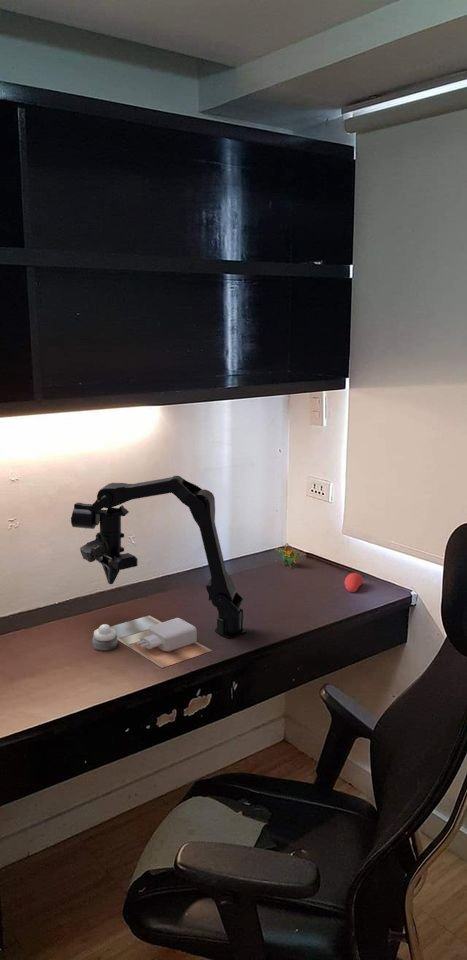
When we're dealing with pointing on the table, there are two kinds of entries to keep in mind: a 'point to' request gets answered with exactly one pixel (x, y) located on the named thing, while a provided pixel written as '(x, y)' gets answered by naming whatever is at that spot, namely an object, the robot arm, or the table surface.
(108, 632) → the dome
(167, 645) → the charger
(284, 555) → the figurine
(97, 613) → the table surface
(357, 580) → the stress ball
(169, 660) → the game board
